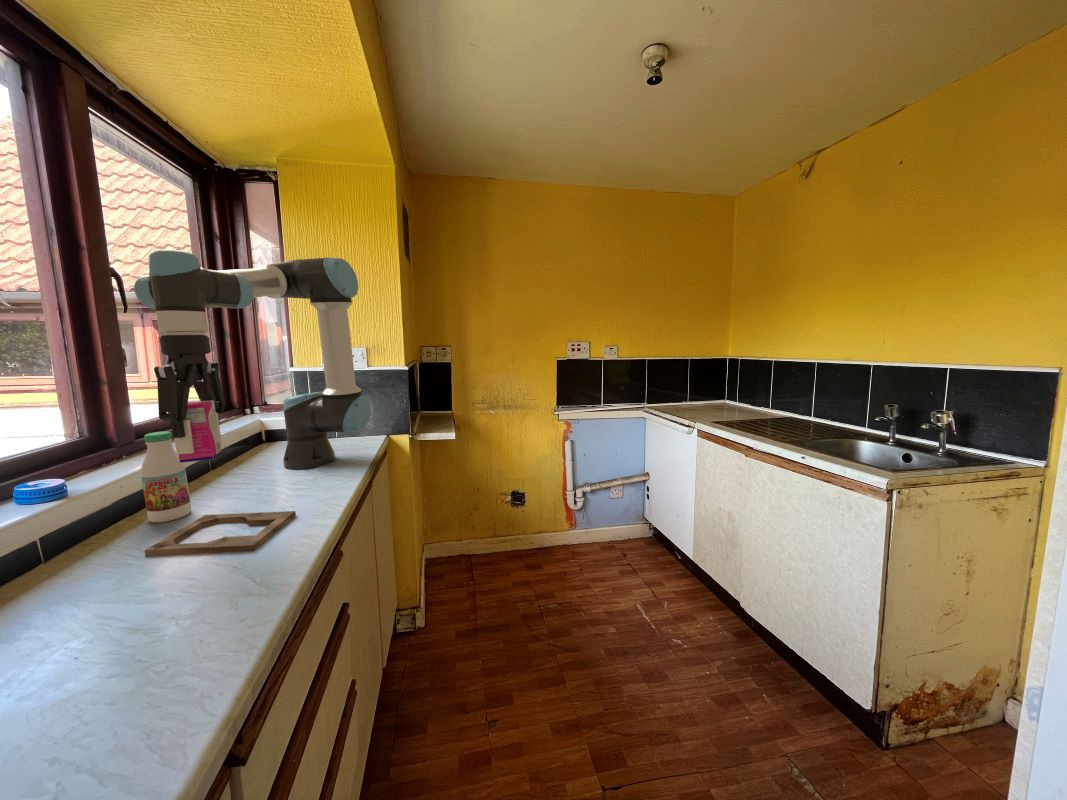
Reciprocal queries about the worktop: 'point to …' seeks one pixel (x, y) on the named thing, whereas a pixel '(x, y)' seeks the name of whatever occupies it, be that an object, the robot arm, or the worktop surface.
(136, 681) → the worktop surface
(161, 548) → the keyhole plate
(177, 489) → the milk bottle
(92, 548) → the worktop surface
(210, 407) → the supplement box
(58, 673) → the worktop surface
